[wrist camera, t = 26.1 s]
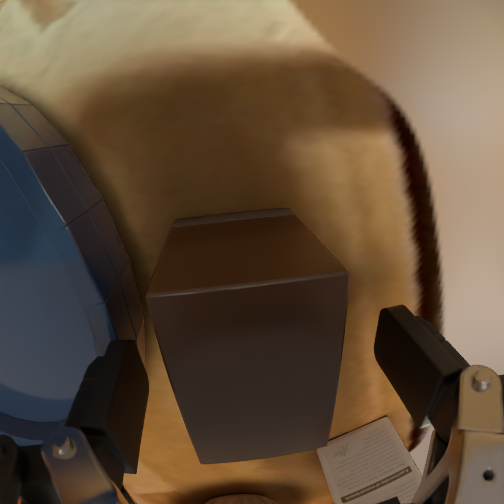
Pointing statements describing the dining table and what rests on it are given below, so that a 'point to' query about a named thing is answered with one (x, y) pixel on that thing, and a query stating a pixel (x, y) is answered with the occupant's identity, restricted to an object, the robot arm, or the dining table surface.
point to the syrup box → (369, 466)
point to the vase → (241, 499)
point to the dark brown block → (250, 332)
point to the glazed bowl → (54, 275)
